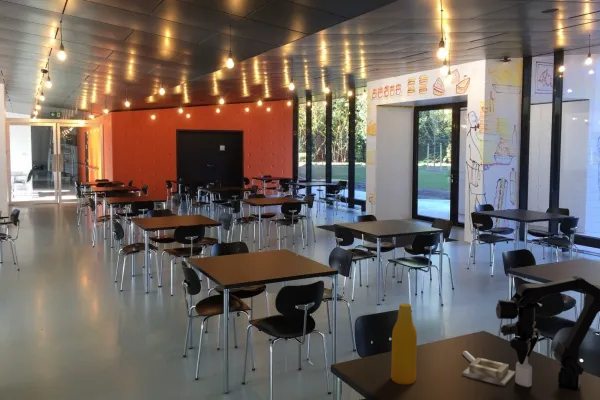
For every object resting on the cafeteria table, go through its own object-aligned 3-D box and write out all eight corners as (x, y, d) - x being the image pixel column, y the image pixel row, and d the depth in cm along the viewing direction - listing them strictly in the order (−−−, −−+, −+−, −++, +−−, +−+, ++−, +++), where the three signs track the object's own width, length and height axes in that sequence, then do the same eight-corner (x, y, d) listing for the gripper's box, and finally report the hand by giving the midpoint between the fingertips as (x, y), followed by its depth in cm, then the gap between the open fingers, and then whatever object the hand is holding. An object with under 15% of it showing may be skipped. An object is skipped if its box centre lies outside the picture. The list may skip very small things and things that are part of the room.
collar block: (515, 374, 207) (515, 364, 207) (504, 386, 196) (505, 375, 196) (474, 364, 217) (474, 354, 216) (462, 375, 206) (462, 365, 205)
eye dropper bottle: (521, 387, 195) (523, 356, 194) (513, 381, 200) (515, 350, 199) (532, 387, 195) (534, 355, 194) (524, 380, 201) (525, 350, 200)
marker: (463, 354, 230) (478, 369, 214) (459, 352, 230) (474, 366, 214) (466, 349, 230) (481, 363, 214) (462, 347, 230) (477, 361, 214)
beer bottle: (386, 376, 204) (388, 302, 201) (407, 373, 207) (409, 300, 204) (399, 386, 195) (401, 309, 193) (420, 383, 198) (422, 306, 196)
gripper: (510, 309, 208) (509, 348, 209) (496, 321, 193) (494, 363, 194) (541, 314, 201) (539, 354, 203) (528, 327, 186) (526, 370, 188)
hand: (524, 360), depth 197 cm, fingers open, 9 cm apart
